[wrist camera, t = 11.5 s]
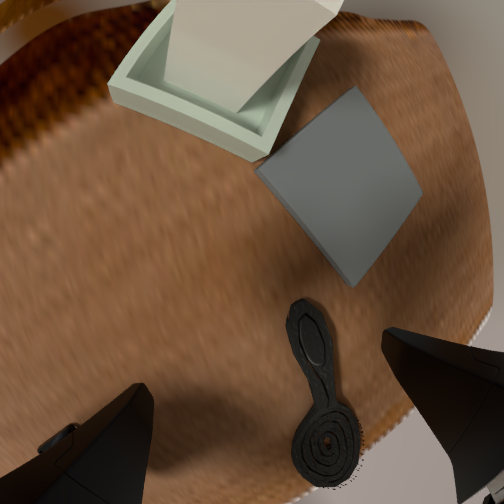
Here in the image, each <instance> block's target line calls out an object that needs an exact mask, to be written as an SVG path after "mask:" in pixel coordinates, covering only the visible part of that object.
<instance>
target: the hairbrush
mask: <svg viewBox="0 0 504 504" xmlns="http://www.w3.org/2000/svg"><path fill="white" fill-rule="evenodd" d="M304 313H306V314H307V315H308V316H309V317H310V318H312V319H313V321H314V322H313V321H312V320H311V319H310V318H309V317H307V316H306V315H304ZM286 330H287V333H288V337H289V341H290V344H291V348H292V351H293V354H294V356H295V358H296V360H297V361H298V363H299V365H300V367H301V369H302V371H303V372H304V374H305V376H306V378H307V379H308V382H309V386H310V389H311V393H312V397H313V400H314V404H315V405H314V406H313V408H312V409H311V410H310V412H309V413H308V414H307V416H306V417H305V418H304V420H303V421H302V422H301V424H300V425H299V426H298V428H299V427H300V426H301V427H300V428H299V430H298V428H297V430H298V432H297V430H296V432H297V433H296V432H295V434H296V435H295V436H294V438H293V442H292V451H291V455H292V459H293V463H294V466H295V467H296V469H297V470H298V472H299V473H300V475H301V476H302V477H303V478H305V479H306V480H307V481H309V482H310V483H311V484H313V485H314V486H316V487H323V488H324V487H336V486H338V485H339V484H341V483H342V482H344V481H346V480H347V479H349V478H350V476H351V474H352V473H353V471H354V469H355V468H356V466H357V464H358V461H359V451H360V449H361V448H360V436H359V430H358V424H360V423H358V424H357V421H359V420H358V419H356V418H357V417H355V415H354V414H353V413H352V411H351V410H350V409H349V408H348V407H346V405H345V406H344V405H343V404H341V403H340V402H338V401H336V395H335V383H334V371H333V345H332V338H331V336H330V333H329V330H328V328H327V325H326V322H325V320H324V317H323V315H322V313H321V312H320V311H319V310H318V309H316V308H315V307H314V306H313V305H312V304H310V303H309V302H308V301H307V300H305V299H301V300H299V301H297V302H295V303H293V304H292V305H291V306H290V313H289V321H288V320H287V319H286ZM305 357H306V358H305ZM306 359H307V360H308V362H309V363H310V365H311V366H312V368H313V369H314V370H315V372H316V373H317V375H318V376H319V378H320V379H321V381H320V380H319V378H318V377H317V375H316V374H315V373H314V371H313V370H312V368H311V367H310V366H309V364H308V362H307V360H306ZM338 411H339V412H338ZM340 412H343V413H344V414H345V415H346V416H347V418H348V420H349V422H348V421H347V420H346V418H345V416H344V415H342V414H341V413H340ZM334 420H337V422H338V423H339V424H340V425H341V428H342V430H343V433H342V431H341V429H340V427H339V425H338V423H336V422H335V421H334ZM349 423H350V425H349ZM360 426H361V424H360ZM360 428H361V429H362V427H360ZM330 431H331V432H334V433H335V435H336V437H337V439H336V437H335V436H334V435H333V434H332V433H331V432H330ZM362 432H363V431H361V433H362ZM362 436H363V435H362ZM326 437H327V438H329V439H330V444H329V445H330V446H329V445H328V446H329V447H328V446H327V448H326V447H325V446H324V445H323V442H324V440H325V438H326ZM363 437H364V436H363ZM327 440H328V439H327ZM361 440H362V439H361ZM363 441H364V440H363ZM317 445H318V446H319V448H320V450H321V452H320V451H319V448H318V446H317ZM363 445H364V444H363ZM310 448H311V451H310ZM362 450H364V449H362ZM311 452H312V454H313V455H311ZM322 452H323V453H324V454H323V453H322ZM301 453H302V454H301ZM360 454H361V453H360ZM362 455H363V454H362ZM302 456H303V457H302ZM313 456H314V457H315V458H316V459H317V460H316V459H315V458H313ZM302 458H303V459H304V460H305V462H304V461H303V459H302ZM362 461H363V460H362ZM305 463H307V464H308V465H309V466H310V467H311V468H310V467H309V466H307V465H306V464H305ZM361 466H362V465H361ZM358 471H359V470H358ZM355 477H356V476H355ZM345 485H346V484H345ZM340 488H341V487H340ZM333 490H335V489H333Z"/></svg>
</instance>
